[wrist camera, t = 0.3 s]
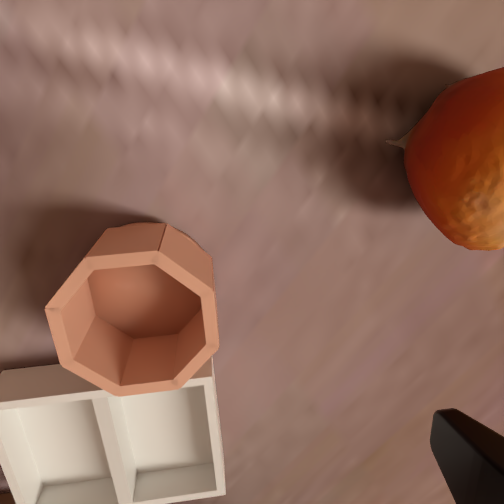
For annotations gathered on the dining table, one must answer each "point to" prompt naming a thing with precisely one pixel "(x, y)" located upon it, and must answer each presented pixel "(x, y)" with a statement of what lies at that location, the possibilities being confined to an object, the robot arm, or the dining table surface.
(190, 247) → the cup
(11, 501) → the cradle
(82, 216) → the dining table surface
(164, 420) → the trough tray
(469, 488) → the robot arm
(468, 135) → the fruit
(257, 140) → the dining table surface
